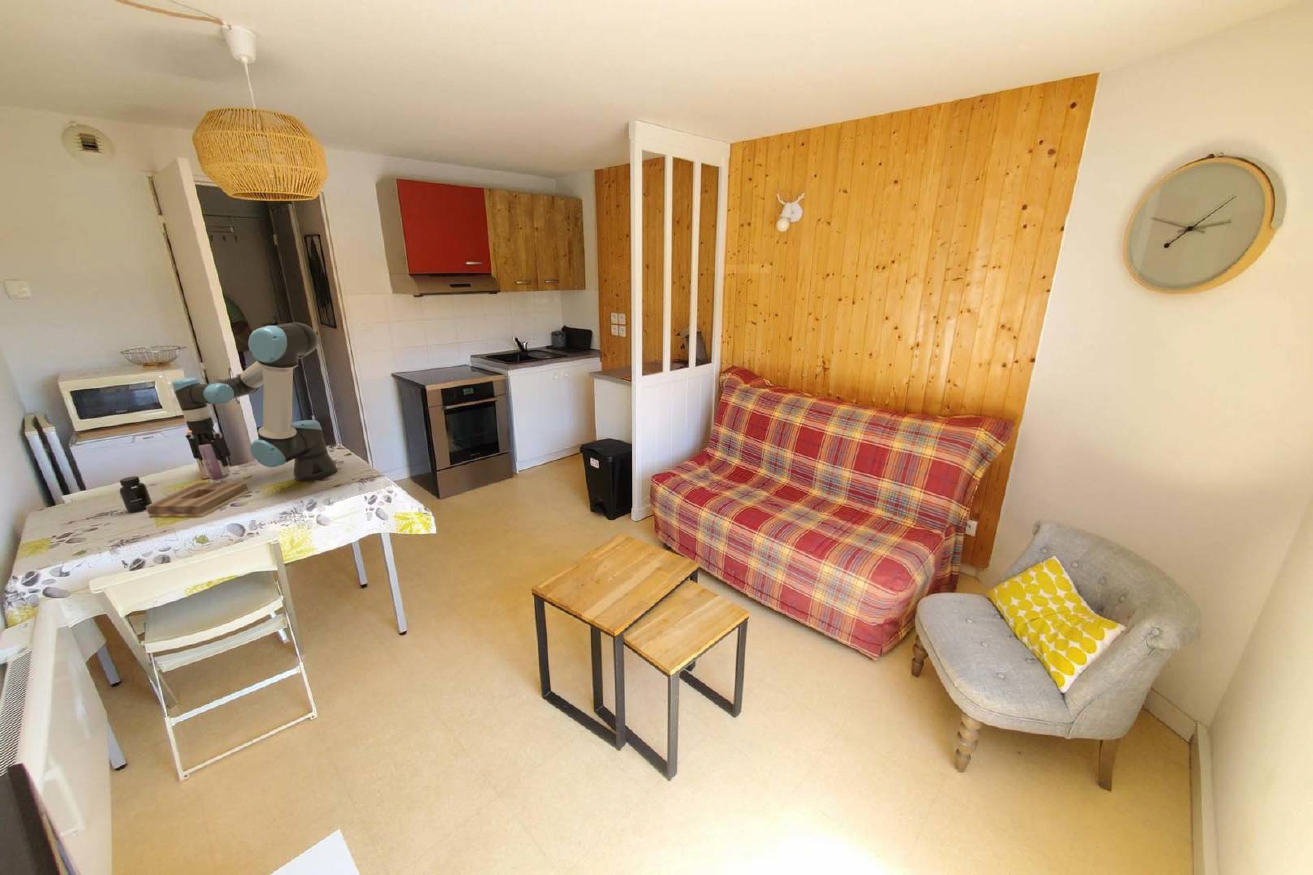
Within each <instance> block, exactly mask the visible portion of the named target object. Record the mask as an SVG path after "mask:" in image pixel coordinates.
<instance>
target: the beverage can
mask: <svg viewBox="0 0 1313 875" xmlns="http://www.w3.org/2000/svg"><path fill="white" fill-rule="evenodd" d="M198 446H199V450H200V453H201V456H202V458H203V461H204V464H205V466H206V469H207V472H208V474H209V477H210V478H209V479H210V481H213V482H218V481H223V480H226V479H228V478H229V477H230V473H228V474H226V475H223V474H222V471H221V469H220V466H219V463H218V461H217V459H219V458H218V456H217V455H216V454H215V452H214V450H213V447H212V446H211V444H207V443H204V444H201V445H198ZM221 456H222V455H221Z"/></svg>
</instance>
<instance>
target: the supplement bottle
mask: <svg viewBox="0 0 1313 875" xmlns="http://www.w3.org/2000/svg"><path fill="white" fill-rule="evenodd" d="M119 483H120V486H121V487H119V494H120V497H121V499H122V502H123V504H124V507H125V509H126V511H127V512H129V513H138V512H142V511H145V510H146V511H147V509H146V507H145V506H147V505H150V504H152V503H153V502H152V499H151V496H150V493H149V490H148V489H147V486H146V484H145V483H143V482H141V480H140V477H139V476H137V475H136V476H134V475H133V476H128V477H124V478H121V479H120V480H119Z"/></svg>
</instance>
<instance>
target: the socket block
mask: <svg viewBox="0 0 1313 875" xmlns="http://www.w3.org/2000/svg"><path fill="white" fill-rule="evenodd" d="M248 493H250V490H249V487H248V484H247V482H245V481H244V482H242V481H241V482H196V483H194V484H192V485H189V486H188V487H186V488H182V489H180V490H179V491H176V492H175V493H172V494H170V495H168V496H165V497H163V498H161V499H159V500H156V501H154V502H152V504H150V505H147V506H145V507H146V511H147V514H148V516H149V517H151V518H152V517H163V518H164V517H179V518H180V517H185V518H186V517H192V518H193V517H198V518H199V517H204V516H207V515H208V514H210V513H212V512H214V511H216V510H218V509H220V508H221V507H224V506H225V505H228V504H230V503H231V502H233V501H235V500H237V499H239V498H241V497H243V496H244V495H246V494H248Z"/></svg>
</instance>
